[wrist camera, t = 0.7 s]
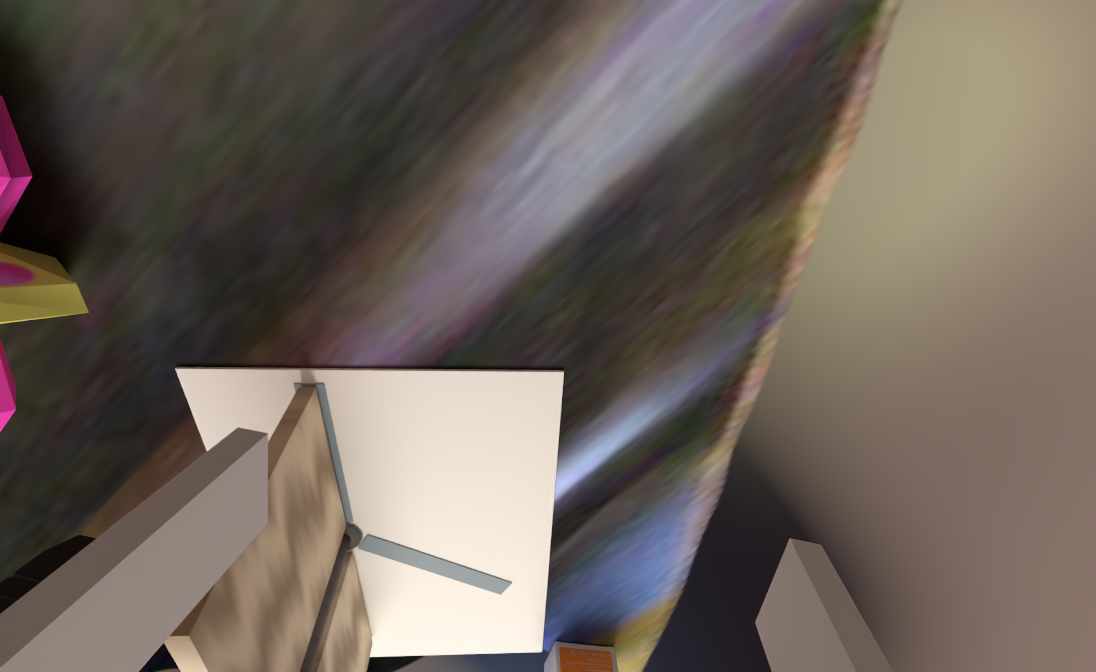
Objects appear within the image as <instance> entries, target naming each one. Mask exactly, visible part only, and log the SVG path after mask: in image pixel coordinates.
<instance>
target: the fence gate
mask: <svg viewBox="0 0 1096 672" xmlns="http://www.w3.org/2000/svg"><path fill="white" fill-rule="evenodd" d="M372 644H373V642H372V638H371V633H370V629H369V624H368V620H367V615H366V611H365V606H364V602H363V597H362V593H361V588H360V584H359V579H358V575H357V570H356V566H355V562H354V557H353V553H352V552H347V554H346V558H345V561H344V564H343V568H342V571H341V574H340V578H339V581H338V584H337V588H336V591H335V594H334V598H333V601H332V604H331V607H330V611H329V614H328V617H327V621H326V624H325V627H324V631H323V634H322V637H321V641H320V644H319V647H318V651H317V654H316V657H315V660H314V664H313V667H312V670H311V672H366V671H367V666H368V662H369V657H370V653H371V648H372Z"/></svg>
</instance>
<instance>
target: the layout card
mask: <svg viewBox="0 0 1096 672" xmlns="http://www.w3.org/2000/svg"><path fill="white" fill-rule="evenodd" d="M175 370H176V372H177V375H178V377H179V380H180V383H181V385H182V388H183V390H184V393H185V396H186V398H187V401H188V403H189V406H190V409H191V411H192V414H193V416H194V419H195V421H196V424H197V427H198V429H199V432H200V434H201V437H202V440H203V442H204V445H205V447H206V450H207V451H208V450H210V449H211V448H212V447H214V446H215V445H216V444H217V443H219V442H220V441H221V440H222V439H224V438H225V437H226V436H228V435H229V434H230V433H231V432H233V431H234V430H235V429H236V428H238V427H239V428H244V429H249V430H254V431H259V432H264V433H268V442H269V440H270V438H271V436H272V434H273V433H274V431H275V429H276V427H277V425H278V424H279V422H280V420H281V418H282V416H283V415H284V413H285V411H286V409H287V407H288V406H289V404H290V402H291V400H292V398H293V397H294V395H295V393H296V391H297V389H298V388H299V387H316V391H317V395H318V400H319V404H320V409H321V413H322V418H323V422H324V427H325V431H326V436H327V440H328V445H329V449H330V454H331V458H332V463H333V467H334V472H335V476H336V481H337V485H338V490H339V494H340V499H341V503H342V508H343V512H344V517H345V521H346V524H348V525H351V526H353V527H355V528H357V529H358V530H359V531H360V533H361V536H362V538H361V542H360V544H359V545H358V546H357V547H356V548H354V549H350V550H348V551H347V552H352V553H353V557H354V562H355V566H356V570H357V575H358V579H359V584H360V588H361V593H362V597H363V602H364V606H365V611H366V615H367V620H368V624H369V629H370V633H371V638H372V642H373V644H372V648H371V653H370V657H383V656H419V655H453V654H488V653H523V652H542V646H543V633H544V620H545V608H546V595H547V582H548V569H549V557H550V544H551V531H552V518H553V506H554V493H555V480H556V467H557V454H558V442H559V429H560V416H561V403H562V391H563V378H564V370H483V369H366V368H248V367H176V369H175Z"/></svg>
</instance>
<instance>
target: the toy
mask: <svg viewBox="0 0 1096 672" xmlns="http://www.w3.org/2000/svg"><path fill="white" fill-rule="evenodd" d="M31 178H32V174H31V171H30V168H29V166H28V163H27V161H26V158H25V155H24V153H23V150H22V147H21V145H20V142H19V139H18V137H17V134H16V131H15V129H14V126H13V124H12V121H11V118H10V116H9V113H8V110H7V108H6V105H5V102H4V100H3V97H2V96H1V95H0V233H1V231H2V229H3V228H4V226H5V224H6V222H7V221H8V219H9V217H10V215H11V213H12V212H13V210H14V208H15V206H16V205H17V203H18V201H19V199H20V197H21V196H22V194H23V192H24V190H25V189H26V187H27V185H28V183H29V181H30V180H31ZM81 313H89V312H88V310H87V307H86V305H85V303H84V300H83V298H82V296H81V294H80V291H79V289H78V287H77V284H76V283H75V281H74V280H73V279H72V278H71V276H70V275H69V274H68V273H67V271H66V270H65V269H64V268H63V266H62V265H61V264H60V263H59V261H58V260H57V259H56V258H55V257H52V256H48V255H44V254H41V253H37V252H33V251H30V250H26V249H22V248H19V247H15V246H11V245H8V244H4V243H0V324H1V323H9V322H17V321H25V320H33V319H41V318H49V317H57V316H65V315H73V314H81ZM15 410H16V385H15V382H14V379H13V376H12V373H11V370H10V367H9V363H8V360H7V357H6V354H5V351H4V348H3V345H2V342H1V339H0V431H1V430H2V429H3V427H4V426H5V424H6V423H7V421H8V420H9V419H10V417H11V416H12V414H13V413H14V412H15Z"/></svg>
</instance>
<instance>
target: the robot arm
mask: <svg viewBox="0 0 1096 672" xmlns="http://www.w3.org/2000/svg"><path fill="white" fill-rule="evenodd" d="M267 523H268V433H264V432H259V431H254V430H249V429H244V428H239V427H238V428H236V429H235V430H234V431H233V432H231V433H230V434H229V435H228V436H226V437H225V438H224V439H222V440H221V441H220V442H219V443H217V444H216V445H215V446H214V447H212V448H211V449H210V450H208V451H207V452H206V453H205V454H203V455H202V456H201V457H200V458H198V459H197V460H196V461H194V462H193V463H192V464H191V465H189V466H188V467H187V468H186V469H184V470H183V471H182V472H180V473H179V474H178V475H177V476H175V477H174V478H173V479H172V480H170V481H169V482H168V483H166V484H165V485H164V486H163V487H161V488H160V489H159V490H158V491H156V492H155V493H154V494H152V495H151V496H150V497H149V498H147V499H146V500H145V501H144V502H142V503H141V504H140V505H138V506H137V507H136V508H135V509H133V510H132V511H131V512H130V513H128V514H127V515H126V516H124V517H123V518H122V519H121V520H119V521H118V522H117V523H116V524H114V525H113V526H112V527H110V528H109V529H108V530H107V531H105V532H104V533H103V534H102V535H100V536H99V537H98V538H92V537H87V536H82V535H78V536H76V537H73V538H71V539H69V540H67V541H65V542H63V543H60V544H58V545H56V546H54V547H52V548H50V549H48V550H45V551H43V552H42V553H41V554H39V555H38V556H37V557H35V558H34V559H32V560H31V561H30V562H28V563H27V564H26V565H24V566H23V567H22V568H20V569H19V570H17V571H16V572H15V573H14V575H13V576H12V577H11V578H7V579H5V580H4V581H2V582H1V583H0V672H139V670H140V669H141V668H142V667H143V666H144V665H145V664H146V662H147V661H148V660H149V659H150V658H151V657H152V655H153V654H154V653H155V652H156V651H157V650H158V649H159V647H160V646H161V645H162V644H163V643H164V642H165V641H166V639H167V638H168V637H169V636H170V635H171V634H172V632H173V631H174V630H175V629H176V628H177V627H178V626H179V624H180V623H181V622H182V621H183V620H184V619H185V618H186V616H187V615H188V614H189V613H190V612H191V611H192V609H193V608H194V607H195V606H196V605H197V604H198V603H199V601H200V600H201V599H202V598H203V597H204V596H205V595H206V593H207V592H208V591H209V590H210V589H211V588H212V586H213V585H214V584H215V583H216V582H217V581H218V580H219V578H220V577H221V576H222V575H223V574H224V573H225V572H226V570H227V569H228V568H229V567H230V566H231V565H232V563H233V562H234V561H235V560H236V559H237V558H238V557H239V555H240V554H241V553H242V552H243V551H244V550H245V549H246V547H247V546H248V545H249V544H250V543H251V542H252V540H253V539H254V538H255V537H256V536H257V535H258V534H259V532H260V531H261V530H262V529H263V528H264V527H265V526H266V524H267ZM755 623H756V626H757V629H758V632H759V635H760V638H761V641H762V644H763V647H764V649H765V653H766V656H767V659H768V662H769V665H770V667H771V670H772V672H893V671H892V669H891V668H890V666H889V664H888V662H887V661H886V659H885V657H884V655H883V653H882V652H881V650H880V648H879V646H878V645H877V643H876V641H875V639H874V637H873V636H872V634H871V632H870V630H869V629H868V627H867V625H866V623H865V622H864V620H863V618H862V617H861V615H860V613H859V611H858V609H857V608H856V606H855V604H854V603H853V601H852V599H851V597H850V595H849V594H848V592H847V590H846V588H845V587H844V585H843V583H842V581H841V580H840V578H839V576H838V574H837V573H836V571H835V569H834V567H833V565H832V564H831V562H830V560H829V558H828V557H827V555H826V553H825V551H824V550H823V548H822V546H821V545H819V544H814V543H809V542H805V541H800V540H795V539H789V542H788V544H787V547H786V549H785V551H784V554H783V556H782V559H781V561H780V563H779V566H778V568H777V571H776V573H775V576H774V578H773V581H772V583H771V585H770V588H769V590H768V593H767V595H766V598H765V600H764V603H763V605H762V607H761V610H760V612H759V615H758V617H757V620H756V622H755Z"/></svg>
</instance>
